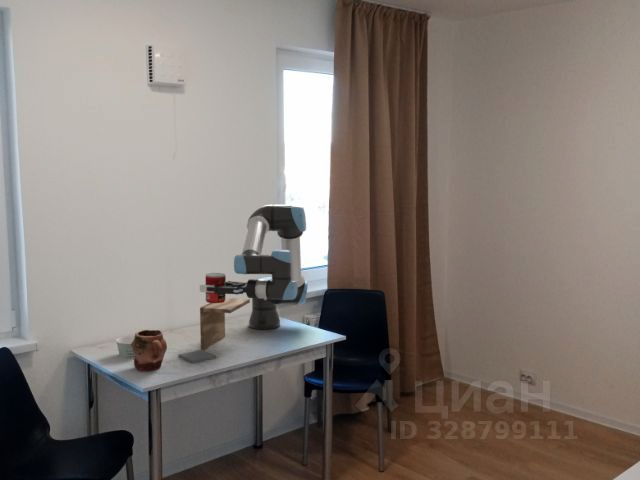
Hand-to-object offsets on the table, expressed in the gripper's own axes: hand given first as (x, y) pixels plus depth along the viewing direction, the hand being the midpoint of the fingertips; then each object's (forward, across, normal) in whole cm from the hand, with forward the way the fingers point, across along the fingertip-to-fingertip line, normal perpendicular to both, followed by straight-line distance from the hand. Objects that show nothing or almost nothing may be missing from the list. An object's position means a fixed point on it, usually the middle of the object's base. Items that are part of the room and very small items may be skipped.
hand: (204, 286), depth 257 cm
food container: (+29, -7, -28) cm, 41 cm away
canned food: (-5, 0, -6) cm, 8 cm away
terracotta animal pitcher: (+13, -22, -29) cm, 38 cm away
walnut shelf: (-3, +17, -28) cm, 33 cm away
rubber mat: (+2, -4, -28) cm, 29 cm away
